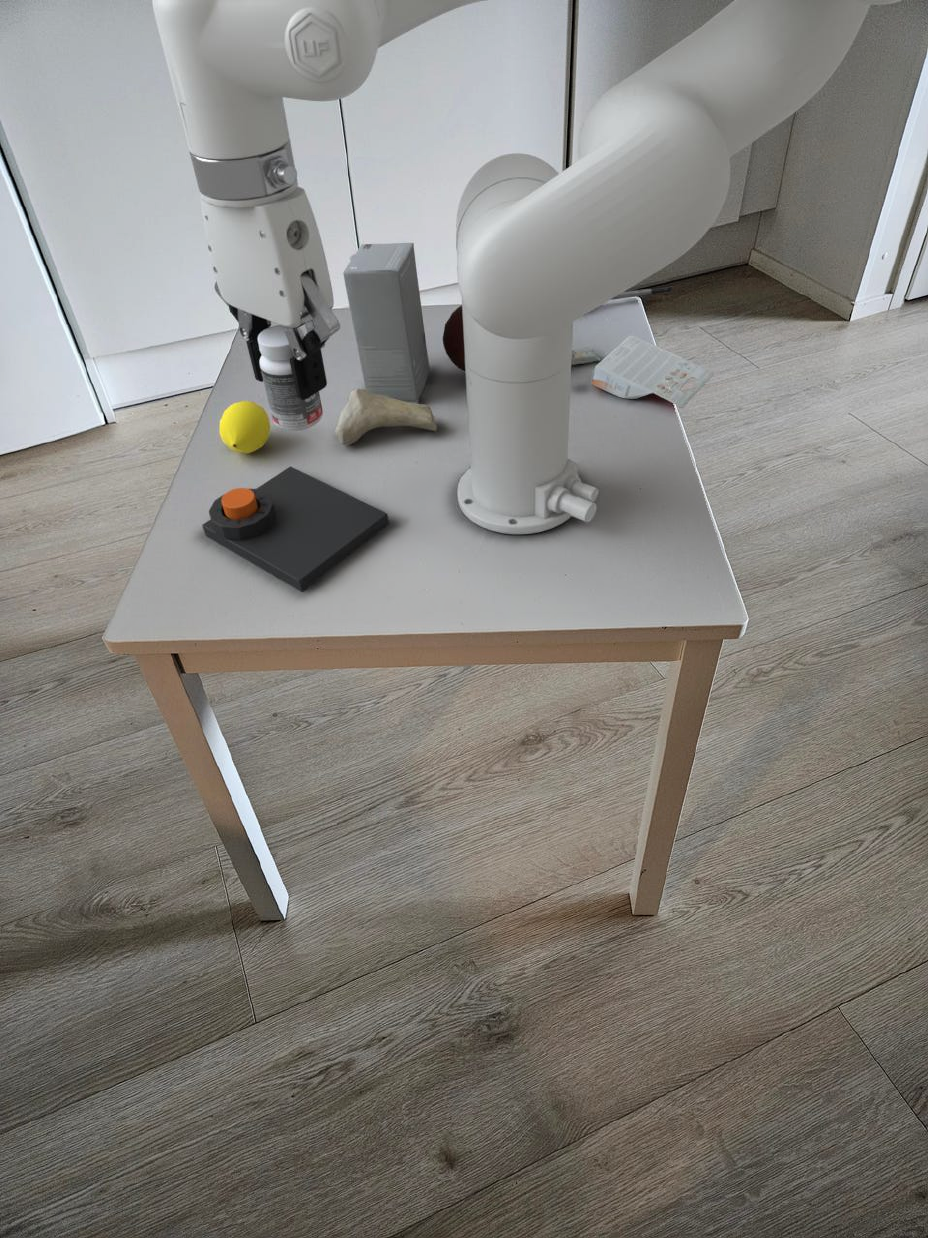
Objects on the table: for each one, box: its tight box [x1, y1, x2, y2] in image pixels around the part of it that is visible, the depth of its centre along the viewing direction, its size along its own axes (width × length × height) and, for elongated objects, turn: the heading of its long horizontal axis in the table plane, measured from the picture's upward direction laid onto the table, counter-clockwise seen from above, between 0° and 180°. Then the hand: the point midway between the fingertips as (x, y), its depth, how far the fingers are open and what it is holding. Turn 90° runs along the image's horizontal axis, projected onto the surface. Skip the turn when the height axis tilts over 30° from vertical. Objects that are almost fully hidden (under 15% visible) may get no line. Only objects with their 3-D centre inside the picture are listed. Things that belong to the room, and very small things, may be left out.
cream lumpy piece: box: [334, 388, 438, 446], centre depth 97 cm, size 11×6×5 cm, turn 101°
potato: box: [442, 304, 466, 373], centre depth 102 cm, size 9×12×9 cm
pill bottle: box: [258, 324, 324, 431], centre depth 79 cm, size 5×5×8 cm
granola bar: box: [571, 348, 602, 366], centre depth 106 cm, size 7×1×3 cm
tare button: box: [221, 487, 258, 520], centre depth 85 cm, size 3×3×2 cm
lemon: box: [218, 400, 271, 454], centre depth 95 cm, size 7×5×5 cm
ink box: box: [590, 334, 715, 409], centre depth 102 cm, size 3×9×12 cm
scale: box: [201, 466, 390, 592], centre depth 86 cm, size 14×12×3 cm
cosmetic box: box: [342, 242, 430, 404], centre depth 100 cm, size 8×7×16 cm
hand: (291, 381), depth 79 cm, fingers closed on pill bottle, 4 cm apart
